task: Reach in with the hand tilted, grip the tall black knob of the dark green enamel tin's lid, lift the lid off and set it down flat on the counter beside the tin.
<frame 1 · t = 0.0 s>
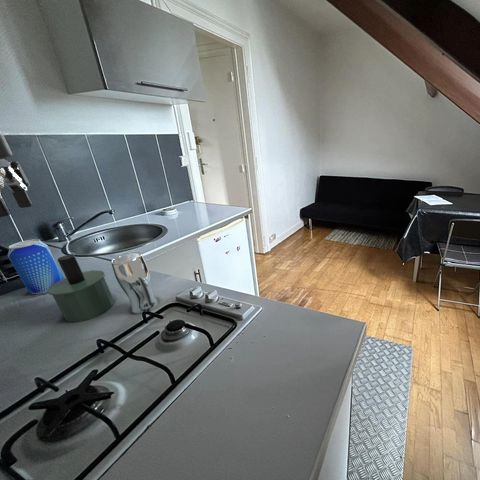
hand: (15, 211, 59), 29 cm above the worktop, tool pointing down, fingers open, 8 cm apart
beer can: (49, 289, 83), on the worktop
tin lid: (78, 282, 68), point 8 cm above the worktop, touching tin
beer glass: (145, 307, 71), on the worktop
tin: (91, 309, 71), on the worktop
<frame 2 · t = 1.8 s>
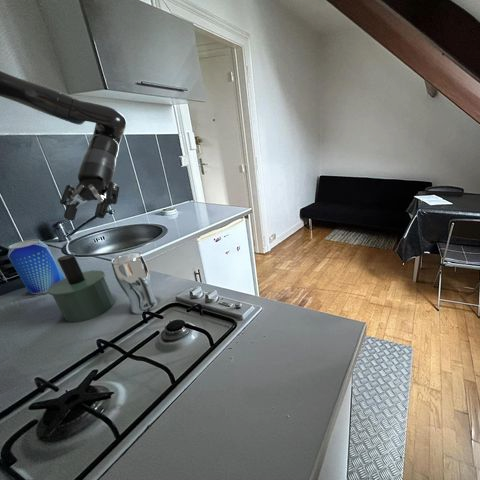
hand: (84, 218, 71), 23 cm above the worktop, tool tilted 45°, fingers open, 8 cm apart
nothing on the worktop moved.
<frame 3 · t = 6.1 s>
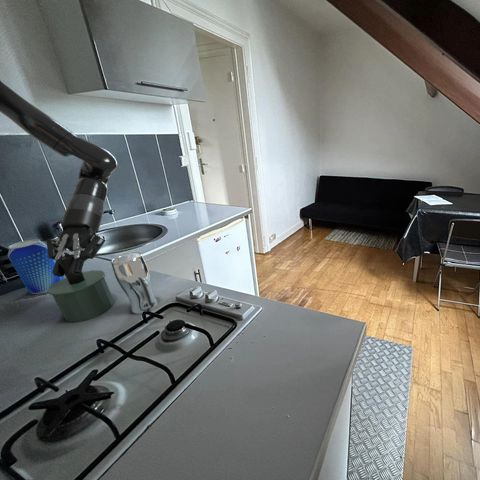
hand: (66, 275, 65), 12 cm above the worktop, tool tilted 45°, fingers closed on tin lid, 3 cm apart
tin lid: (78, 282, 68), point 9 cm above the worktop, touching gripper, tin
everything else where it was.
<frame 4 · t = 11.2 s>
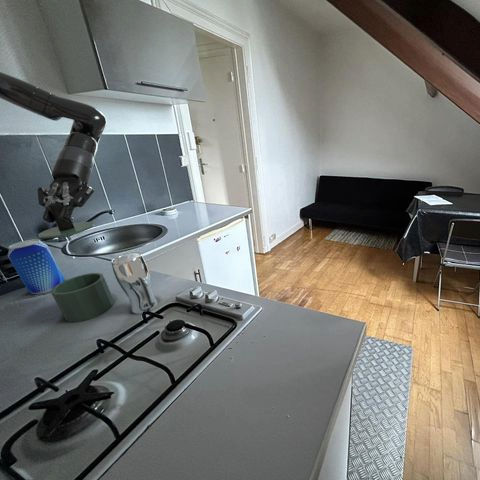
hand: (55, 220, 68), 24 cm above the worktop, tool tilted 45°, fingers closed on tin lid, 3 cm apart
tin lid: (68, 230, 71), point 20 cm above the worktop, touching gripper
everything else where it was.
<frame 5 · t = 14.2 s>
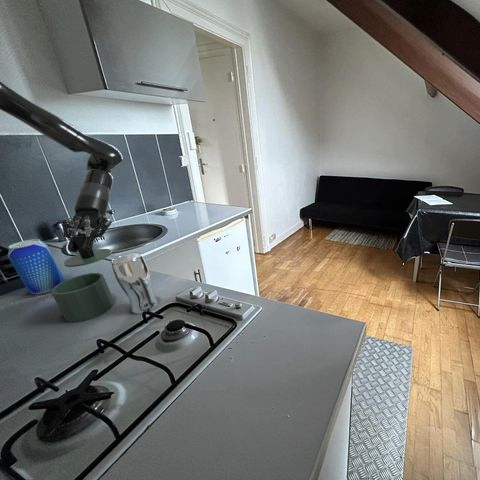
hand: (79, 250, 77), 13 cm above the worktop, tool tilted 45°, fingers closed on tin lid, 3 cm apart
tin lid: (89, 258, 80), point 10 cm above the worktop, touching gripper
everything else where it was.
when the fingers open (4 cm above the worktop, at t = 16.4 s): tin lid stays where it is, point 1 cm above the worktop.
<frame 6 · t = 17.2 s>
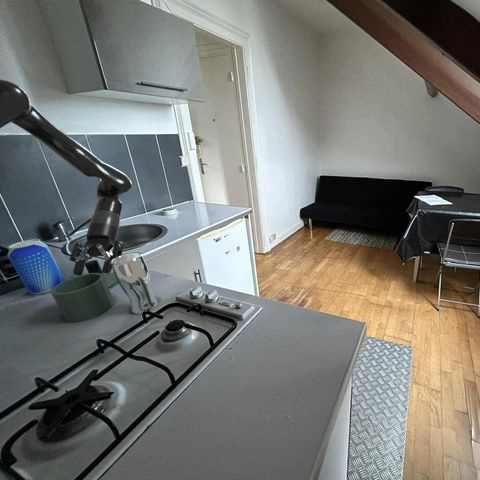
hand: (91, 274, 81), 5 cm above the worktop, tool tilted 45°, fingers open, 8 cm apart
tin lid: (100, 283, 83), point 1 cm above the worktop
everything else where it was.
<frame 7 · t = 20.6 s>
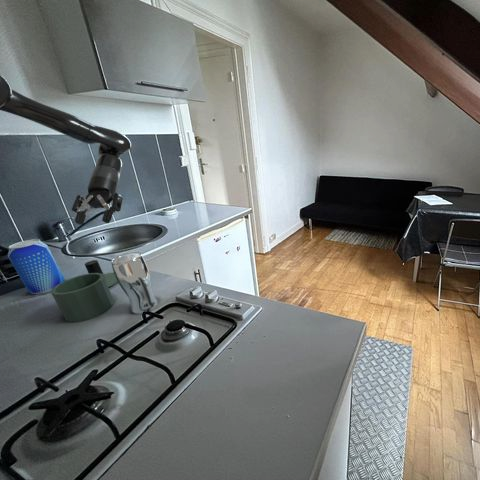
hand: (92, 222, 85), 18 cm above the worktop, tool tilted 45°, fingers open, 8 cm apart
nothing on the worktop moved.
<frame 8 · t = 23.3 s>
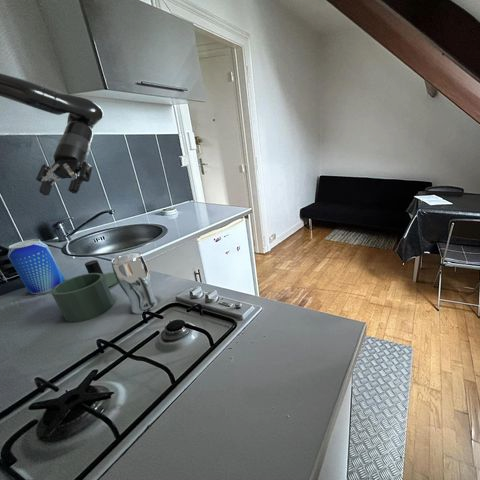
hand: (58, 193, 79), 29 cm above the worktop, tool tilted 45°, fingers open, 8 cm apart
nothing on the worktop moved.
at the end: tin lid inside the target area (0.1 cm from its centre), point 0.6 cm above the worktop; tin lid tilted 0°; the gripper is holding nothing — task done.
